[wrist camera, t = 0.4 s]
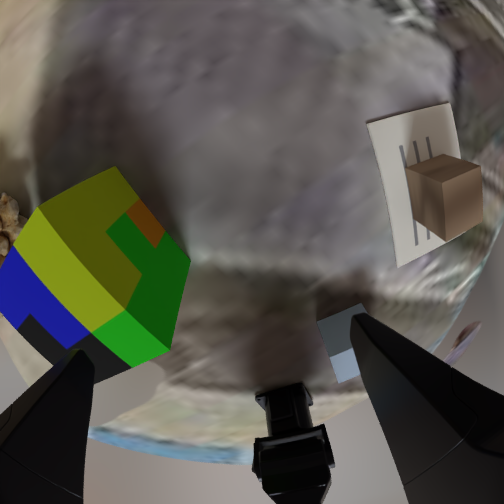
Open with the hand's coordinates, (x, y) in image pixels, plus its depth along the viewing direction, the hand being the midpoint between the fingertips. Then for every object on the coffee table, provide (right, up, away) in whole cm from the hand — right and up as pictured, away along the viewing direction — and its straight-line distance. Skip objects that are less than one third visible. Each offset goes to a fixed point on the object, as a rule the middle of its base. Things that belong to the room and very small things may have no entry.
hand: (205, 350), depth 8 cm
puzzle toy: (-11, +4, +14) cm, 18 cm away
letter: (+18, +9, +13) cm, 23 cm away
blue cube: (+11, -5, +20) cm, 23 cm away
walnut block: (+18, +9, +12) cm, 23 cm away
